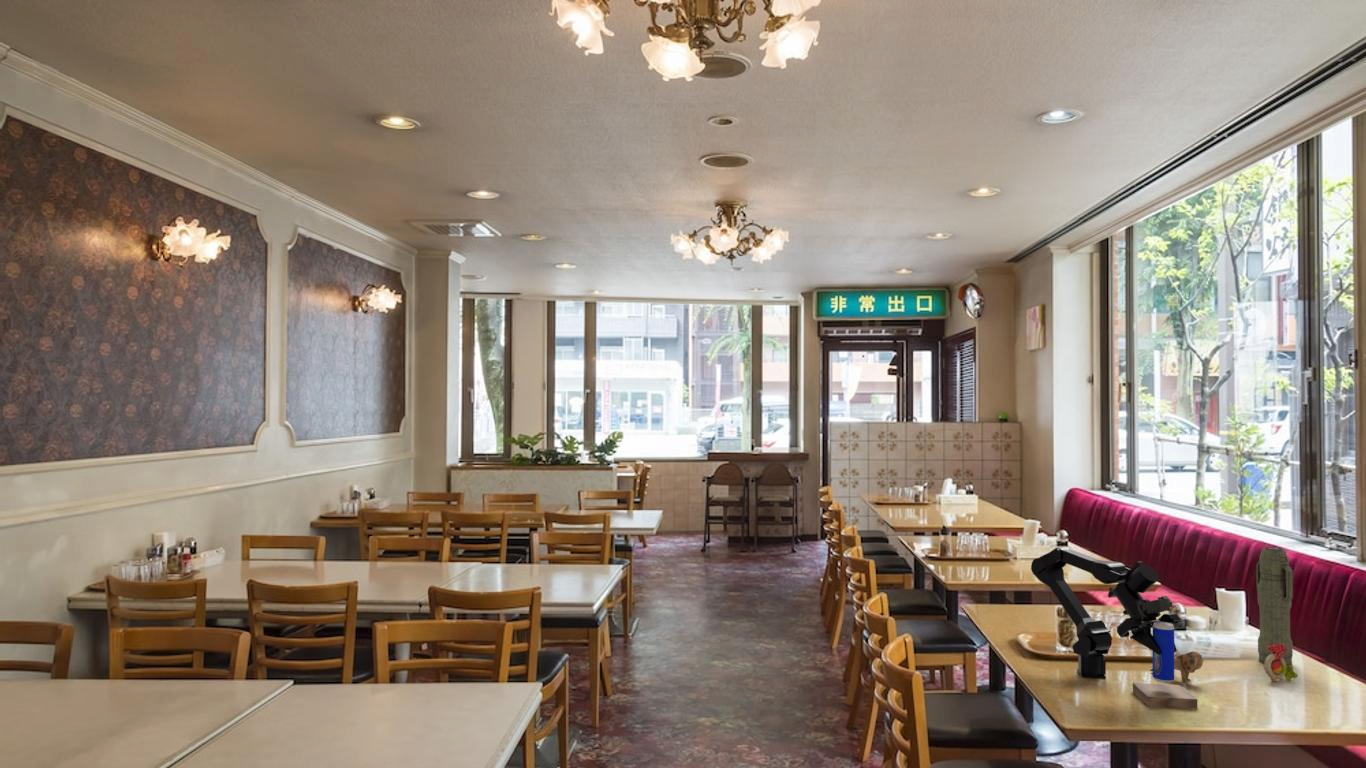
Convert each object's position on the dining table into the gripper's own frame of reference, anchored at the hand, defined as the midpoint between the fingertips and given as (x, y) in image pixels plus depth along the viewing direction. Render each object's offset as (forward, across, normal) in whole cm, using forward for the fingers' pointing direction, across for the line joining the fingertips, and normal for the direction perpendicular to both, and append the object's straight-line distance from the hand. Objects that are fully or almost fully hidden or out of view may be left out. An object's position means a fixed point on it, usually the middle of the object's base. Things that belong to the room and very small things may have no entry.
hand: (1168, 652), depth 240 cm
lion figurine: (0, +21, +19) cm, 28 cm away
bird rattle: (+9, +46, +10) cm, 48 cm away
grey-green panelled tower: (0, +64, +19) cm, 66 cm away
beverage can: (+4, 0, +6) cm, 8 cm away
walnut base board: (+8, 0, +10) cm, 13 cm away
